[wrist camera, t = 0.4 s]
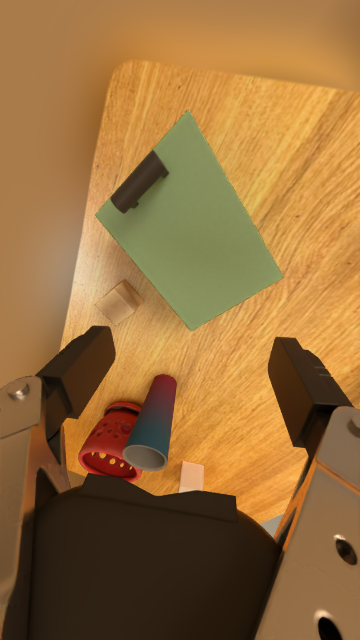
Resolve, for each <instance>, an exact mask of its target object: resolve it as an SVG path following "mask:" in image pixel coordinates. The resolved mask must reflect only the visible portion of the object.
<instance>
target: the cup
mask: <svg viewBox="0 0 360 640" xmlns="http://www.w3.org/2000/svg"><path fill="white" fill-rule="evenodd" d="M176 386H177V383H176V381H175V379H174V378H173V377H171V376H169V375H166V374H161V375H158V376H156V377H155V378H154V380H153V383H152V385H151V387H150V390H149V392H148V394H147V397H146V399H145V401H144V403H143V406H142V408H141V410H140V413H139V415H138V417H137V420H136V422H135V424H134V426H133V429H132V431H131V433H130V436H129V438H128V440H127V443H126V445H125V447H124V449H123V453H122V455H123V457H124V459H125V460H126V461H127V462H128V463H129V464H130V465H132V466H134V467H136V468H138V469H141V470H146V471H158V470H161V469H163V468H165V467H166V465H167V460H168V452H169V443H170V435H171V427H172V419H173V411H174V403H175V394H176Z"/></svg>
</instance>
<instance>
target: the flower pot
mask: <svg viewBox="0 0 360 640" xmlns="http://www.w3.org/2000/svg"><path fill="white" fill-rule="evenodd" d="M140 410H141V407H139V406H137V405H135V404H132V403H128V402H118V403H114V404H112V405H110V406H109V407H107V409H106V410H105V412H104V418H103V419H101V420H100V421H99V422H98V424H97V425H96V426H95V427H94V429H93V430H92V431H91V433H90V435H89V436H88V438H87V439H86V441H85V443H84V445H83V447H82V449H81V451H80V453H79V455H78V460H79V462H80V464H81V465H82V467H83V468H84V469H86V470H87V471H88V472H90V473H93V474H99V475H105V476H112V477H118V478H123V479H124V480H126V481H128V482H134V481H136V480H138V479H139V478H140V476H141V473H142V470H141V469H138V468H136V467H134V466H132V465H130V464H129V463H128V462H127V461H126V460H125V459H124V457H123V455H122V453H123V449H124V447H125V445H126V443H127V440H128V438H129V436H130V433H131V431H132V429H133V426H134V424H135V422H136V420H137V417H138V415H139V413H140ZM92 452H95V453H94V455H93V456H92V454H91V453H92ZM99 452H100V453H105V454H107V455H106V457H105V458H103V459H102V458H100V456H99ZM112 458H114V459H115V463H114V464H110V460H111V459H112ZM119 458H121V459H119ZM122 463H124V466H123V467H120V464H122ZM131 466H132V469H131V470H129V469H130V467H131Z"/></svg>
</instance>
